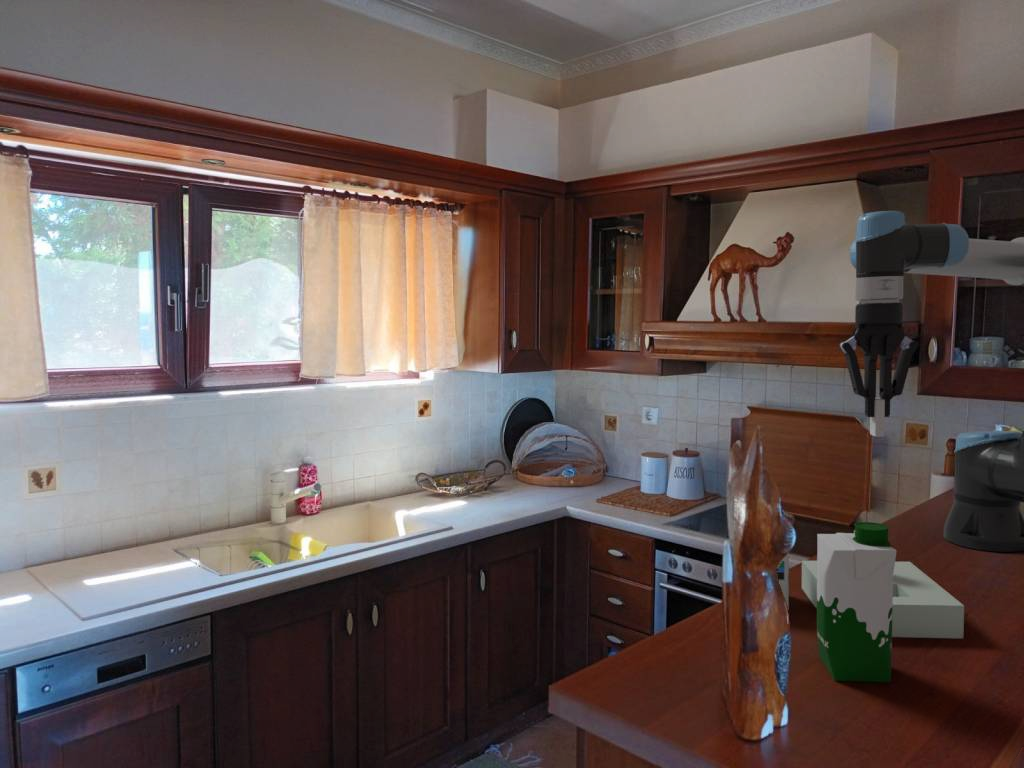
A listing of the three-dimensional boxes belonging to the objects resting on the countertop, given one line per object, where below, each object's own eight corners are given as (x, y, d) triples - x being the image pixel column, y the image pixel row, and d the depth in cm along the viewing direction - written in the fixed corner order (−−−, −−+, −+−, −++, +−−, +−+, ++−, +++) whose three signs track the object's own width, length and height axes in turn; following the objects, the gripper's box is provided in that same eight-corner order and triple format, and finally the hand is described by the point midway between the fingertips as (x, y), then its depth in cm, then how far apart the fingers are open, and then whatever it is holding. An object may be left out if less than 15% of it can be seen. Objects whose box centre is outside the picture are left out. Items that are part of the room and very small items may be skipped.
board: (909, 589, 132) (909, 561, 131) (963, 638, 112) (964, 605, 111) (801, 588, 134) (801, 560, 133) (836, 635, 114) (836, 603, 114)
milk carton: (900, 686, 98) (903, 535, 97) (828, 684, 99) (830, 535, 98) (875, 655, 107) (877, 517, 105) (809, 654, 108) (810, 517, 106)
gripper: (846, 302, 130) (845, 439, 132) (927, 300, 128) (924, 438, 130) (833, 303, 137) (832, 432, 139) (909, 301, 135) (907, 431, 138)
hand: (877, 435), depth 135 cm, fingers closed
